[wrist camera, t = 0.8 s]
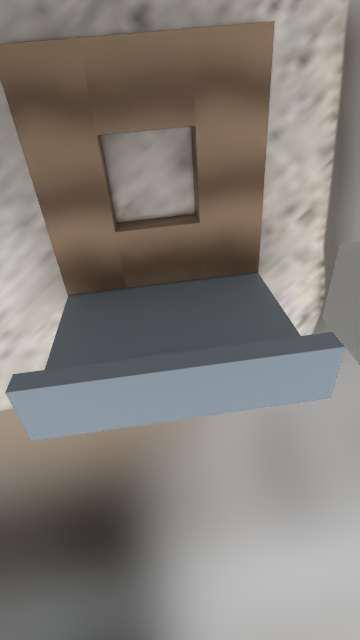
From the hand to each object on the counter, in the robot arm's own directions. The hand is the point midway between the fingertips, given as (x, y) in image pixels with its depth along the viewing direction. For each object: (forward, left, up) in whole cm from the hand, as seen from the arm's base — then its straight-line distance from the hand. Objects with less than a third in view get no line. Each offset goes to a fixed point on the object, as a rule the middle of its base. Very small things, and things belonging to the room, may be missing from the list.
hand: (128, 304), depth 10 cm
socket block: (+1, +2, -23) cm, 23 cm away
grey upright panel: (+10, +2, -23) cm, 25 cm away
